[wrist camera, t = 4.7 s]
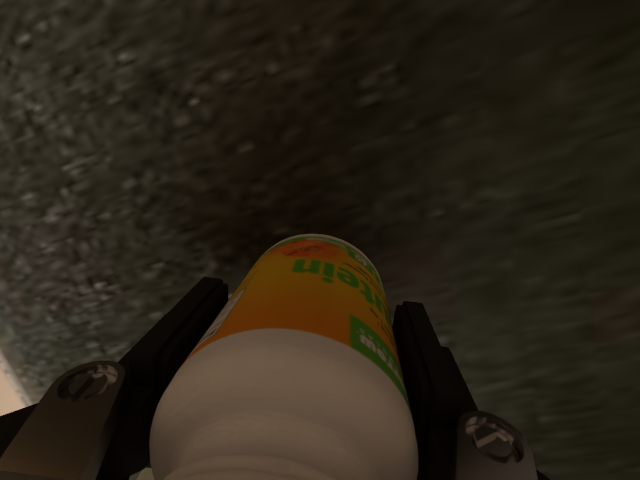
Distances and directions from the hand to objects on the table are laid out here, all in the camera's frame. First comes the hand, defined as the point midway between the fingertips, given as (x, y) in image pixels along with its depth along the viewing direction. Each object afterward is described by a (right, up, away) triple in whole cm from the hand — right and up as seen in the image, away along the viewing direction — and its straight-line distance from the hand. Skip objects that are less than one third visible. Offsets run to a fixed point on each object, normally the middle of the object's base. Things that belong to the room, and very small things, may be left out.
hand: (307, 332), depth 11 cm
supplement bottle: (0, +1, +3) cm, 3 cm away
